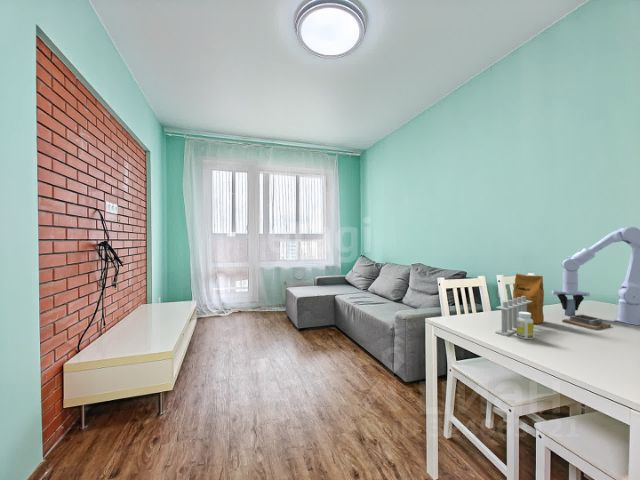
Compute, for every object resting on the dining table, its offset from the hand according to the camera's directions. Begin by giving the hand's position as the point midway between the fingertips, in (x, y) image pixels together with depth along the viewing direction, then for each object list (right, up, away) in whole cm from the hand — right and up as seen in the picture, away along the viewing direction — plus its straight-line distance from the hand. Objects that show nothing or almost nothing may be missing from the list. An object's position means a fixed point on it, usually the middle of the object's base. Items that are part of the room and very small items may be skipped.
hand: (570, 309), depth 141 cm
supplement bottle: (-44, -4, -29) cm, 53 cm away
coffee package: (-27, -4, -7) cm, 28 cm away
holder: (-5, -3, -14) cm, 15 cm away
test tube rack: (-42, -4, -20) cm, 46 cm away
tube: (0, -3, 0) cm, 3 cm away
